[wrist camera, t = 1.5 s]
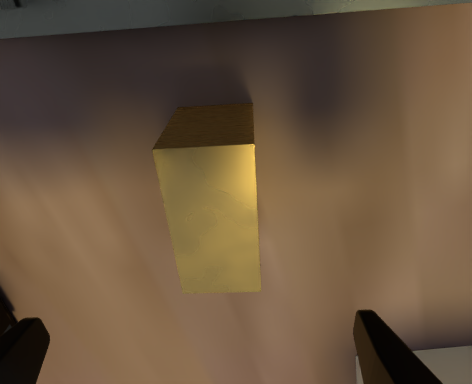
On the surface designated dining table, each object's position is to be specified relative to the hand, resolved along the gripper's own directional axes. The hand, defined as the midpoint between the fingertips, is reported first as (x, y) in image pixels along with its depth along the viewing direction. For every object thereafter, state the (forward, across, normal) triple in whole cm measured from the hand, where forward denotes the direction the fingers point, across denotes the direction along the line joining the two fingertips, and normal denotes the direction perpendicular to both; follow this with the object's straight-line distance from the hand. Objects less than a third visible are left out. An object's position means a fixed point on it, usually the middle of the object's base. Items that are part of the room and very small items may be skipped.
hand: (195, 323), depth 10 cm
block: (+9, 0, 0) cm, 9 cm away
